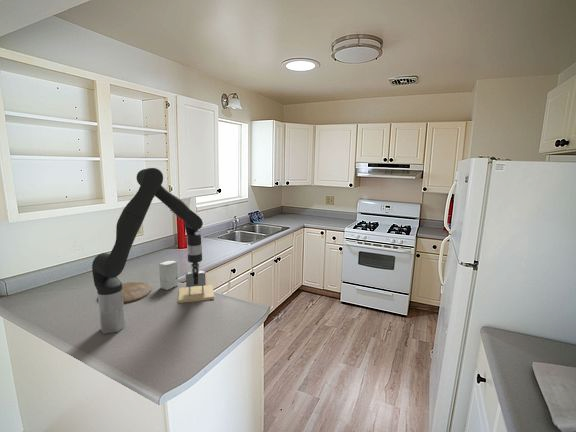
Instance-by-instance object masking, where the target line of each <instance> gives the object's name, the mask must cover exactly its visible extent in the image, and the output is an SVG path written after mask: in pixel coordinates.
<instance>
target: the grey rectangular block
mask: <svg viewBox="0 0 576 432" xmlns="http://www.w3.org/2000/svg"><path fill="white" fill-rule="evenodd" d="M194 272H195V271H194ZM194 276H197V275H194ZM206 282H207V281H206V270H199V273H198V284H196V285H194V278H193V274H192V271H186V272H185V285H186V286H185V287H195V286H206V284H207V283H206Z"/></svg>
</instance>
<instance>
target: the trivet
mask: <svg viewBox="0 0 576 432" xmlns="http://www.w3.org/2000/svg"><path fill="white" fill-rule="evenodd" d="M122 290H123V302H124V305H125V304H130V303H133V302H137V301H140V300H142V299H144V298H146V297H147V296H149V295H150V293H151V292H152V291H151V290H152V286H151V285H150V284H148V283H145V282H141V281H140V282H138V281H135V282H134V281H133V282H132V281H131V282H125V283H122Z"/></svg>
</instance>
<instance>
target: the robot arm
mask: <svg viewBox="0 0 576 432" xmlns="http://www.w3.org/2000/svg"><path fill="white" fill-rule="evenodd" d="M136 182H137V184H138V185H139V188H138V190H137V191H136V194H135V195H134V196H133V197H132V198H131V199H130V201H128V202H127V204H126V206H124V208H123V209H122V211H121V213H120V215H119V218H118V220H117V222H116V229H115V232H116V233H115V234H116V235H115V241H114V242H115V243H114V245H113V247H112V250H111V252H110V253H108V252H107V253H106V252H105V253H104V252H102V253H100V254H98V255H96V256H95V257H94V259H93V261H92V263H91V266H92V267H91V272H92V278H93V284H94V287H95V289H96V290H97V291H96V293H97V303H98V310H99V311H98V312H99V322H100V331H101V332H102V334H104V335H105V334H111V333H113V334H114V333H119V332H120V331H121V330H123V329H124V328H125V327H126V317H125V316H126V314H125V304H124V302H123V290H122V284H123V283H122V281H121V280H120V278H118V277H119V276H120V275H121V274H122V272H123V270H124V268H125V266H126V264H127V260H128V257H129V254H130V251H131V249H132V246H133V244H134V241H135V240H136V237H137V234H138V233H139V230H140V229H141V227H142V224H143V223H144V220H145V218H146V215H147V212H148V211H149V209H150V206H151V204H152V201H153V200H154V198H155V197H156V198H157V199H158V200H159V201H160V202H161V203H163V204H164V205H165V206H166V207H167V208H168V209H169V210H170V211H171V212H172V213H173V214H174V215H175V216H177V217H178V218H179V219H181V220H182V221H184V228H185V233H186V239H187V249H186V250H187V251H186V252H187V262H188V263H191V265H190V268H191V272H192V274H193V278H194V285H196V284H198V273H199V271H200V263H201V262H202V261H203V247H202V236H201V233H199V230H201V228H202V227H203V225H204V224H203V220H202V218H201V217H200V216H199V215H198V214H197V213H196V212H195V211H193V210H192V209H190V207H188V205H187V204H186V203H185V202H184V201H183V200H182V199H181V198H179V197H178V196H177V195H175V194H173V193H172V192H170V191H169V190H168V189H166V188H165V187H164V186H163V185H162V184H163V182H164V175H163V172H162V171H161V170H160V169H159V168H156V167H150V168H149V167H148V168H144V169H141V170H139V171H138V172H137V174H136ZM194 271H195V272H194ZM194 275H197V276H194Z"/></svg>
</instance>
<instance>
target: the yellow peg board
mask: <svg viewBox="0 0 576 432" xmlns="http://www.w3.org/2000/svg"><path fill="white" fill-rule="evenodd" d="M210 299H211V300H214V299H215V292H214V287H213V284H207V285H204V286H194V287H186V286H185V287H180V288H179V291H178V299H177V300H178V301H177V303H178V304H184V303H191V302H201V301H209V300H210ZM211 300H210V301H211Z"/></svg>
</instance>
